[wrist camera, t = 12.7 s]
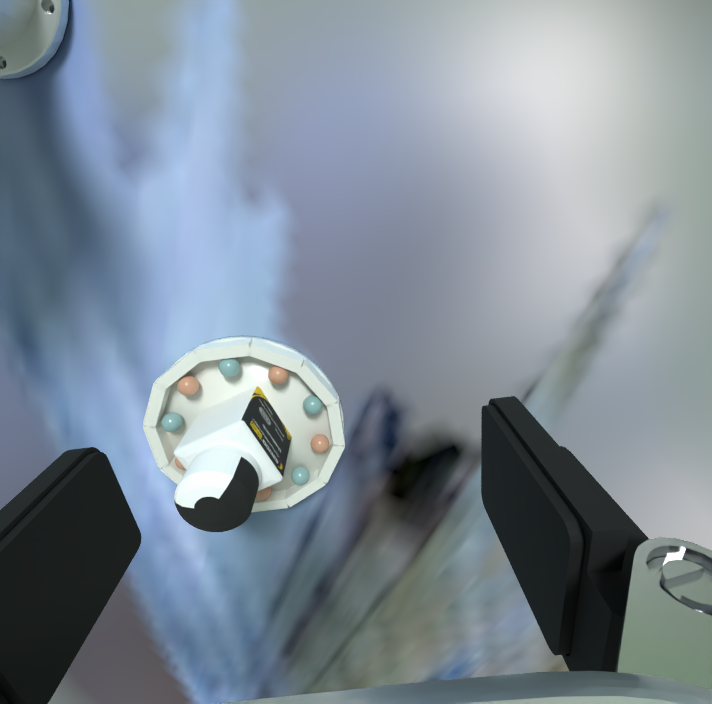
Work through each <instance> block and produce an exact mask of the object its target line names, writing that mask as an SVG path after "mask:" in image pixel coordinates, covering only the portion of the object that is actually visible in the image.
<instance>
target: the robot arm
mask: <svg viewBox="0 0 712 704" xmlns="http://www.w3.org/2000/svg"><path fill="white" fill-rule="evenodd" d="M68 9H69V0H0V79H10V78H20V77H23V76H26V75H29V74H32V73H34V72H35V71H37V70H38V69H40V68H41V67H43V66H44V65H45V64H46V63H47V62H48V61H49V60H50V59H51V58H52V57H53V55H54V54H55V53H56V51H57V49H58V47H59V45H60V43H61V42H62V40H63V36H64V33H65V29H66V26H67V21H68ZM481 492H482V500H483V504H484V507H485V509H486V512H487V514H488V516H489V518H490V520H491V522H492V525H493V527H494V529H495V531H496V533H497V535H498V538H499V540H500V542H501V544H502V546H503V549H504V551H505V553H506V555H507V557H508V559H509V562H510V564H511V566H512V568H513V570H514V572H515V575H516V577H517V579H518V581H519V583H520V586H521V588H522V590H523V592H524V594H525V596H526V599H527V601H528V603H529V605H530V607H531V609H532V612H533V614H534V616H535V618H536V620H537V623H538V625H539V627H540V629H541V631H542V633H543V636H544V638H545V640H546V642H547V644H548V646H549V648H550V650H551V651H552V653H553V654H554V655H562V656H563V658H564V660H565V662H566V665H567V667H568V669H569V671H567V672H536V673H524V674H511V675H499V676H487V677H475V678H463V679H451V680H439V681H429V682H419V683H409V684H400V685H390V686H380V687H371V688H361V689H351V690H342V691H332V692H322V693H313V694H303V695H293V696H284V697H274V698H265V699H256V700H247V701H237V702H228V703H219V704H712V551H711V550H709V549H707V548H705V547H702V546H700V545H698V544H695V543H692V542H688V541H684V540H680V539H676V538H655V539H648V537H647V536H646V535H645V534H644V533H643V532H642V531H641V530H640V529H639V527H638V526H637V525H636V524H635V523H634V522H633V521H632V520H631V519H630V518H629V516H628V515H627V514H626V513H625V512H624V511H623V510H622V509H621V507H620V506H619V505H618V504H617V503H616V502H615V501H614V500H613V499H612V497H611V496H610V495H609V494H608V493H607V492H606V491H605V490H604V489H603V488H602V486H601V485H600V484H599V483H598V482H597V481H596V480H595V479H594V477H593V476H592V475H591V474H590V473H589V472H588V471H587V470H586V469H585V467H584V466H583V465H582V464H581V463H580V462H579V461H578V460H577V459H576V457H575V456H574V455H573V454H572V453H571V452H570V451H569V450H567V449H566V448H565V447H562V446H559V445H558V444H557V443H556V442H555V441H554V440H553V439H552V437H551V436H550V435H549V434H548V433H547V432H546V431H545V429H544V428H543V427H542V426H541V425H540V424H539V423H538V421H537V420H536V419H535V418H534V417H533V416H532V415H531V413H530V412H529V411H528V410H527V409H526V408H525V407H524V405H523V404H522V403H521V402H520V401H519V400H518V399H517V398H516V397H515V396H512V397H503V398H496V399H490V401H489V405H488V406H483V407H482V470H481ZM140 543H141V533H140V530H139V528H138V526H137V523H136V521H135V519H134V517H133V514H132V512H131V510H130V508H129V505H128V503H127V501H126V499H125V496H124V494H123V492H122V489H121V487H120V485H119V483H118V480H117V478H116V476H115V474H114V471H113V469H112V467H111V465H110V462H109V460H108V458H107V456H106V454H104V453H102V452H100V451H99V450H98V449H97V448H94V447H90V448H82V449H74V450H68V451H66V452H64V453H63V454H62V455H61V456H60V457H59V458H58V459H56V460H55V461H54V462H53V463H52V464H51V465H50V466H49V467H48V468H46V469H45V470H44V471H43V472H42V473H41V474H40V475H39V476H38V477H37V478H35V479H34V480H33V481H32V482H31V483H30V484H29V485H28V486H27V487H26V488H24V489H23V490H22V491H21V492H20V493H19V494H18V495H17V496H16V497H14V498H13V499H12V500H11V501H10V502H9V503H8V504H7V505H6V506H5V507H3V508H2V509H1V510H0V704H47V703H48V702H49V700H50V699H51V697H52V696H53V694H54V692H55V691H56V689H57V687H58V685H59V684H60V682H61V680H62V679H63V677H64V675H65V674H66V672H67V670H68V668H69V667H70V665H71V663H72V661H73V660H74V658H75V656H76V655H77V653H78V651H79V649H80V647H81V646H82V644H83V643H84V641H85V639H86V638H87V636H88V634H89V633H90V631H91V629H92V627H93V626H94V624H95V622H96V621H97V619H98V617H99V615H100V614H101V612H102V610H103V609H104V607H105V605H106V604H107V602H108V600H109V598H110V597H111V595H112V593H113V592H114V590H115V588H116V587H117V585H118V583H119V581H120V580H121V578H122V576H123V575H124V573H125V571H126V569H127V568H128V566H129V564H130V563H131V561H132V559H133V558H134V556H135V554H136V552H137V551H138V549H139V547H140Z"/></svg>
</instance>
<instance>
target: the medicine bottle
mask: <svg viewBox="0 0 712 704" xmlns="http://www.w3.org/2000/svg"><path fill="white" fill-rule="evenodd" d="M291 438H292V437H291V434H290V433H289V431H288V430H287V428H286V427H285V425H284V424H283V422H282V421H281V419H280V417H279V416H278V414H277V413H276V411H275V410H274V408H273V407H272V405H271V404H270V402H269V401H268V399H267V397H266V396H265V394H264V393H263V391H262V390H261V388H260V387H259V386H255V387H253V388H250V389H248V390H246V391H244V392H242V393H240V394H237V395H235V396H233V397H231V398H229V399H227V400H225V401H222V402H220V403H218V404H216V405H214V406H212V407H209V408H207V409H205V410H203V411H201V412H200V413H199V415H198V416H197V418H196V419H195V420H194V422H193V423H192V425H191V426H190V428H189V429H188V431H187V432H186V434H185V435H184V437H183V438H182V440H181V441H180V443H179V444H178V446H177V447H176V449H175V450H174V455H175V456H176V458H177V459H178V460H179V461H180V463H181V464H182V465H183V466H184V468H185V469H186V470H187V471H186V473H185V474H184V476H183V478H182V479H181V481H180V483H179V485H178V486H177V488H176V491H175V495H174V500H175V505H176V508H177V510H178V512H179V514H180V515H181V516H182V518H183V519H184V520H185V521H186V522H188V523H189V524H190V525H192V526H194V527H196V528H198V529H201V530H204V531H209V532H223V531H228V530H231V529H234V528H236V527H238V526H240V525H241V524H243V523H244V522H245V521H246V520H247V519H248V517H249V516H250V514H251V511H252V508H253V505H254V501H255V498H256V495H257V491H260V490H262V489H264V488H267V487H269V486H271V485H274V484H276V483H279V482H281V481H282V479H283V475H284V471H285V466H286V461H287V457H288V452H289V448H290V443H291Z"/></svg>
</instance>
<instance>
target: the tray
mask: <svg viewBox="0 0 712 704" xmlns="http://www.w3.org/2000/svg"><path fill="white" fill-rule="evenodd" d="M255 386H259V387H260V388H261V390H262V391H263V393H264V394H265V396H266V397H267V399H268V401H269V402H270V404H271V405H272V407H273V408H274V410H275V411H276V413H277V414H278V416H279V417H280V419H281V421H282V422H283V424H284V425H285V427H286V428H287V430H288V431H289V433H290V434H291V437H292V438H291V443H290V448H289V452H288V457H287V461H286V466H285V471H284V475H283V479H282V481H281V482H279V483H276V484H274V485H271V486H269V487H267V488H264V489H262V490H260V491H257V495H256V498H255V501H254V505H253V508H252V511H251V512H259V511H267V510H276V509H284V508H288V506H290V507H292V506H293V505H295V504H296V503H298V502H299V501H301V500H303V499H304V498H306V497H307V496H309V495H311V494H312V493H314V492H315V491H317V490H318V489H320V488H322V487H323V486H325V485H326V483H328V481H329V479H330V476H331V474H332V472H333V470H334V468H335V466H336V464H337V462H338V460H339V458H340V456H341V454H342V452H343V450H344V448H345V433H344V419H343V410H342V406H341V401H340V399H339V396H338V393H337V391H336V389H335V387H334V386H333V384H332V382H331V380H330V379H329V378H328V377H327V375H326V374H325V373H324V371H323V370H322V369H321V368H320V367H319V366H318V365H317V364H316V363H315V362H313V361H312V360H311V359H310V358H308V357H307V356H306V355H304V354H303V353H301V352H299V351H298V350H296V349H294V348H292V347H290V346H288V345H285V344H283V343H280V342H277V341H274V340H271V339H266V338H261V337H255V336H231V337H224V338H219V339H215V340H212V341H209V342H206V343H203V344H201V345H198V346H197V347H195V348H193V349H192V350H190V351H189V352H187V353H186V354H184V355H183V356H182V357H181V358H180V359H179V360H178V361H177V362H176V363H175V364H173V365H172V366H171V367H170V368H169V369H168V370H167V371H166V372H164V373H163V374H162V375H161V376H160V377H159V378H158V379H157V380H156V381H155V382H154V384H153V388H152V391H151V395H150V399H149V403H148V407H147V410H146V414H145V418H144V422H143V425H145V426H144V427H143V429H144V431H145V434H146V437H147V439H148V442H149V444H150V447H151V450H152V452H153V455H154V457H155V460H156V463H157V465H158V468H159V467H161V469H160V470H161V471H162V472H163V473H165V474H166V475H167V476H168V477H169V478H170V479H172V480H173V481H174V482H175V483H176V484H178V485H179V483H180V481H181V479H182V478H183V476H184V474H185V473H186V471H187V470H186V469H185V468H184V466H183V465H182V464H181V463H180V461H179V460H178V459H177V458H176V456H175V455H174V450H175V449H176V447H177V446H178V444H179V443H180V441H181V440H182V438H183V437H184V435H185V434H186V432H187V431H188V429H189V428H190V426H191V425H192V423H193V422H194V420H195V419H196V418H197V416H198V415H199V413H200V412H201V411H203V410H205V409H207V408H209V407H212V406H214V405H216V404H218V403H220V402H222V401H225V400H227V399H229V398H231V397H233V396H235V395H237V394H240V393H242V392H244V391H246V390H248V389H250V388H253V387H255Z"/></svg>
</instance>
